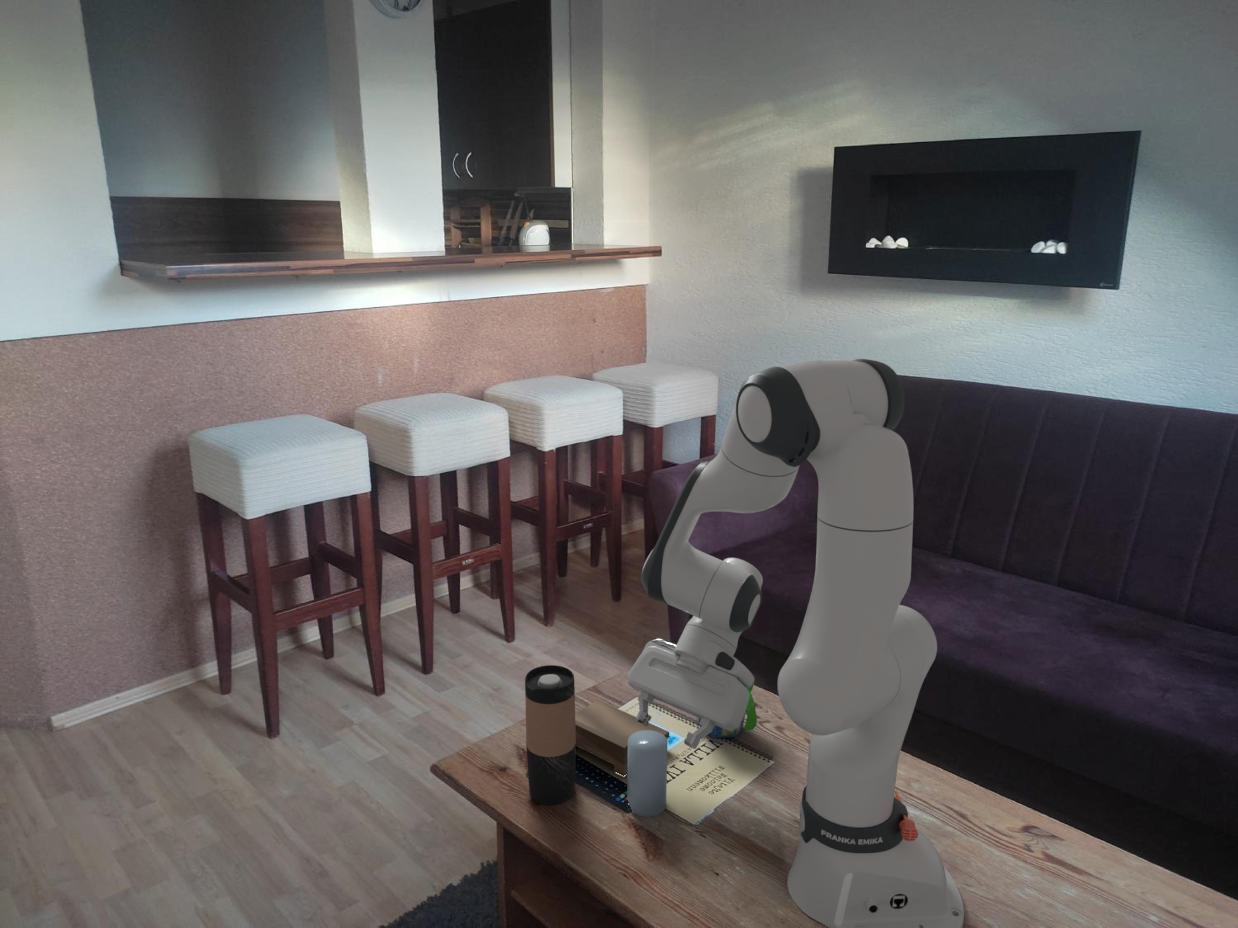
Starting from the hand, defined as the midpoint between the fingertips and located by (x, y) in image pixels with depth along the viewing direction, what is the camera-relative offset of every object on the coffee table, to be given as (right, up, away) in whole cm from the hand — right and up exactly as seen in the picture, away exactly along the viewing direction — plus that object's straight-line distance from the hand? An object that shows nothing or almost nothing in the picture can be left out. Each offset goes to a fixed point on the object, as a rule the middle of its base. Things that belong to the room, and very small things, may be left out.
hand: (664, 734), depth 138 cm
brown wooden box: (-9, -6, +14) cm, 18 cm away
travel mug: (-18, -10, +2) cm, 20 cm away
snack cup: (+11, -5, +20) cm, 23 cm away
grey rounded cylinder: (-3, -10, -1) cm, 11 cm away
